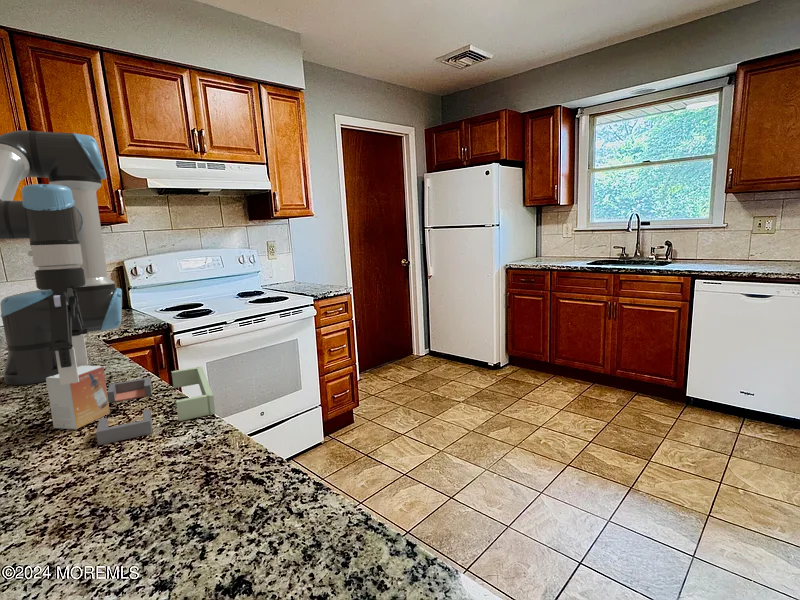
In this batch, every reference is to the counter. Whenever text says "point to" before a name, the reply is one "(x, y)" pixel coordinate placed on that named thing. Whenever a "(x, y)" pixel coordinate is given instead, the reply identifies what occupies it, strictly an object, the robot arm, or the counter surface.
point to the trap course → (141, 389)
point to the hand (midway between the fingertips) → (75, 374)
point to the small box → (78, 398)
